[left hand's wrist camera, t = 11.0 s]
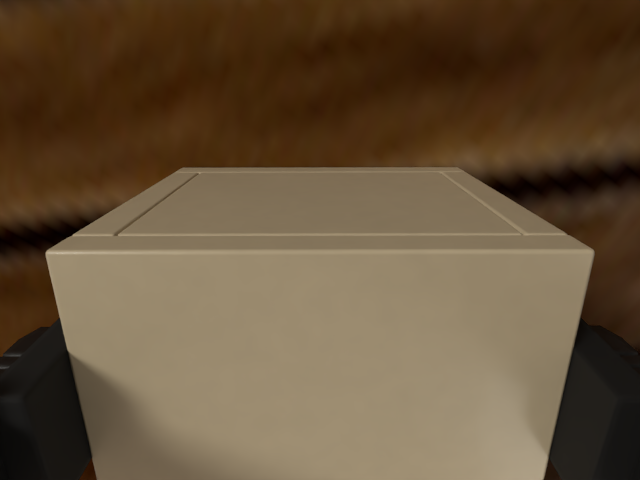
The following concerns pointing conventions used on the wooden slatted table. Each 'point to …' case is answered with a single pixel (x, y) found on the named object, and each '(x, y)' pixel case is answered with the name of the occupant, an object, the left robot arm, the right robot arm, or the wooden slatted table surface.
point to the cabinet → (320, 327)
